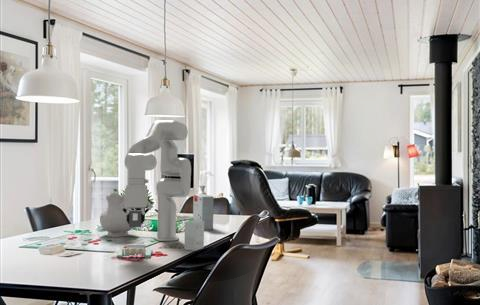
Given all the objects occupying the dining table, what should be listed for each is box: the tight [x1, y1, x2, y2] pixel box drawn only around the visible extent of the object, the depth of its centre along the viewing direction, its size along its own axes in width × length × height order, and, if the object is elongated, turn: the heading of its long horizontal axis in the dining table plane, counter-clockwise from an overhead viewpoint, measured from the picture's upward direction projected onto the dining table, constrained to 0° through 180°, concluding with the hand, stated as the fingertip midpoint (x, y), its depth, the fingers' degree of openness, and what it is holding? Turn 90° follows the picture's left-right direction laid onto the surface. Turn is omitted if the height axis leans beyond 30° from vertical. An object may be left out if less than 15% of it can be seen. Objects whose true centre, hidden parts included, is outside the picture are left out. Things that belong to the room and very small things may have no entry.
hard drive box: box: [192, 193, 214, 231], centre depth 308 cm, size 16×8×20 cm, turn 25°
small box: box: [184, 219, 205, 252], centre depth 242 cm, size 8×6×13 cm
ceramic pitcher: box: [99, 188, 135, 238], centre depth 277 cm, size 22×20×25 cm
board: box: [116, 244, 153, 259], centre depth 225 cm, size 14×14×4 cm
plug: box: [129, 209, 143, 228], centre depth 225 cm, size 5×5×7 cm
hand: (135, 223), depth 225 cm, fingers closed on plug, 5 cm apart
